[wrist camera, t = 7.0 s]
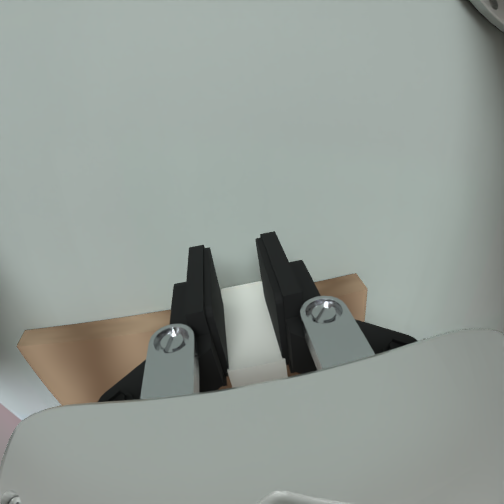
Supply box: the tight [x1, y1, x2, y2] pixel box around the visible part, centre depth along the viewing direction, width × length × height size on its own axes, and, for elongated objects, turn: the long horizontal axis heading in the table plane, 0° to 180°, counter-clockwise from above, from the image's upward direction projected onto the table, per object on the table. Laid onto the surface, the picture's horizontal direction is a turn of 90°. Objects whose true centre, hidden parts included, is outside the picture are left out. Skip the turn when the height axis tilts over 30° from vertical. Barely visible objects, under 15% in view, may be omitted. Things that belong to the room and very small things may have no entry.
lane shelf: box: [17, 273, 367, 405], centre depth 20 cm, size 20×22×4 cm
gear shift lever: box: [221, 281, 288, 388], centre depth 15 cm, size 5×13×6 cm, turn 8°
